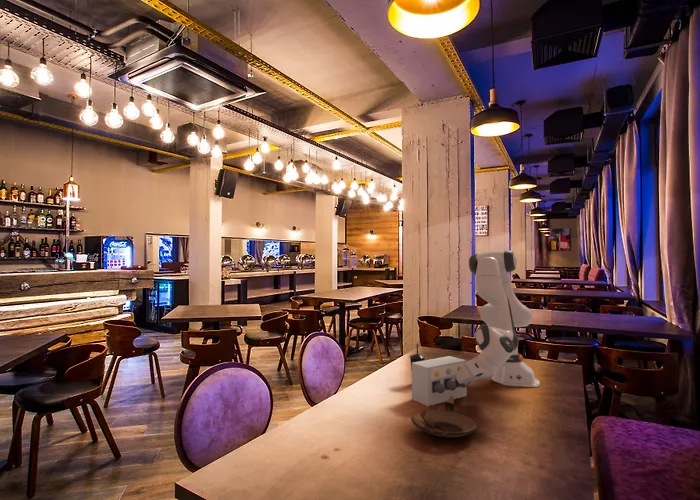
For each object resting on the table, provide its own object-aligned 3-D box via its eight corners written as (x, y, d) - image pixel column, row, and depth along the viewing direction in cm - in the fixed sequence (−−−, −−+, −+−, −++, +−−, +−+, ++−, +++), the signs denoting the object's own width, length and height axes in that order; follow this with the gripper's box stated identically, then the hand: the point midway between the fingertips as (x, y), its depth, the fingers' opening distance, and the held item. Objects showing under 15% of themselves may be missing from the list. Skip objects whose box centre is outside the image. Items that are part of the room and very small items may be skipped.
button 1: (467, 387, 172) (467, 377, 172) (461, 388, 170) (460, 379, 170) (462, 385, 174) (461, 376, 174) (455, 386, 172) (455, 377, 172)
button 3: (444, 392, 164) (444, 383, 164) (438, 394, 162) (437, 384, 162) (439, 390, 167) (439, 381, 167) (432, 392, 165) (432, 382, 165)
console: (467, 396, 175) (467, 360, 176) (428, 406, 162) (428, 368, 163) (450, 389, 184) (449, 355, 185) (411, 399, 171) (411, 362, 172)
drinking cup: (424, 382, 196) (424, 342, 197) (426, 386, 189) (425, 345, 190) (409, 381, 197) (409, 342, 198) (410, 386, 189) (410, 345, 190)
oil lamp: (397, 435, 135) (397, 412, 136) (442, 411, 157) (442, 392, 157) (455, 457, 120) (455, 431, 120) (496, 427, 141) (496, 406, 142)
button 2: (456, 389, 168) (456, 380, 168) (449, 391, 166) (449, 381, 166) (451, 387, 171) (451, 378, 171) (444, 389, 168) (444, 380, 169)
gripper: (495, 355, 169) (477, 373, 177) (463, 361, 158) (446, 380, 166) (504, 368, 165) (486, 385, 173) (472, 375, 154) (454, 393, 162)
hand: (466, 382), depth 170 cm, fingers closed
